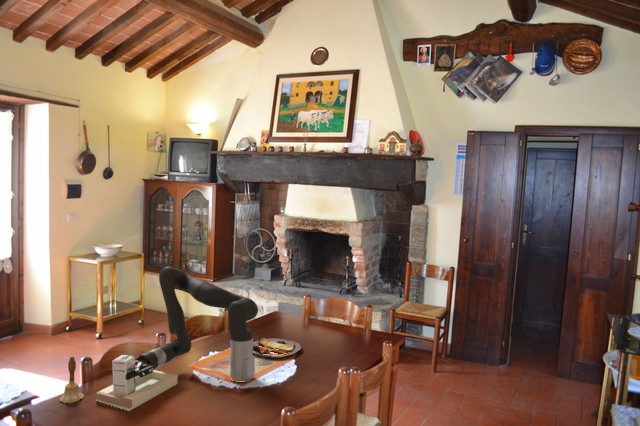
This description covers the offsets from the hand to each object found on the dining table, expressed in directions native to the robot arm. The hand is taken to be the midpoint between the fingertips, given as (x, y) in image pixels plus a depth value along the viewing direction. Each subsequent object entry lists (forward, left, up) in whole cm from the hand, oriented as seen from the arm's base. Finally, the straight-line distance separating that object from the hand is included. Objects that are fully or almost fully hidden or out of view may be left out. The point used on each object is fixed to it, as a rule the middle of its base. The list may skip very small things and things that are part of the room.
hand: (119, 375), depth 185 cm
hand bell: (+18, +6, -10) cm, 21 cm away
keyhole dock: (0, -9, -10) cm, 14 cm away
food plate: (-24, -73, -11) cm, 78 cm away
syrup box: (0, -2, -9) cm, 9 cm away
